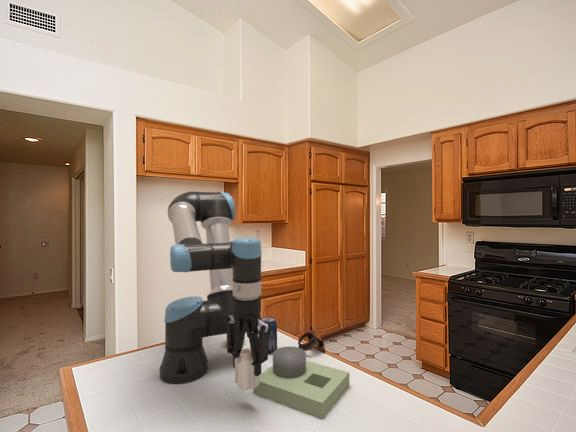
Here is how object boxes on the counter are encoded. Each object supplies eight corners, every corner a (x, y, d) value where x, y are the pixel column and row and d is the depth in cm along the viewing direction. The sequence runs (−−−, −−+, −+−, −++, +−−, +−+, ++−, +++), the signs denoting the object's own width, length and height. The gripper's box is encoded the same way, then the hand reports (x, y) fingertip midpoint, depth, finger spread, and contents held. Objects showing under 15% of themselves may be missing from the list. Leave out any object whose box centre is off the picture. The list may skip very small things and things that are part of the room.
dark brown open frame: (328, 358, 113) (318, 340, 111) (305, 368, 114) (294, 350, 113) (326, 337, 125) (316, 320, 123) (304, 346, 126) (295, 330, 124)
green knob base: (253, 393, 90) (252, 361, 90) (287, 367, 105) (286, 340, 105) (322, 419, 78) (322, 382, 78) (349, 385, 93) (349, 355, 93)
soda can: (264, 346, 123) (264, 315, 123) (280, 349, 120) (280, 317, 120) (255, 352, 116) (254, 320, 117) (271, 356, 113) (271, 323, 113)
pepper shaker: (236, 385, 84) (236, 350, 84) (249, 380, 87) (249, 346, 86) (244, 392, 81) (244, 355, 81) (257, 387, 83) (257, 351, 83)
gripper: (212, 294, 85) (212, 380, 85) (265, 305, 75) (265, 401, 76) (231, 288, 91) (231, 368, 92) (282, 298, 82) (282, 386, 82)
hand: (247, 383), depth 84 cm, fingers closed on pepper shaker, 5 cm apart
